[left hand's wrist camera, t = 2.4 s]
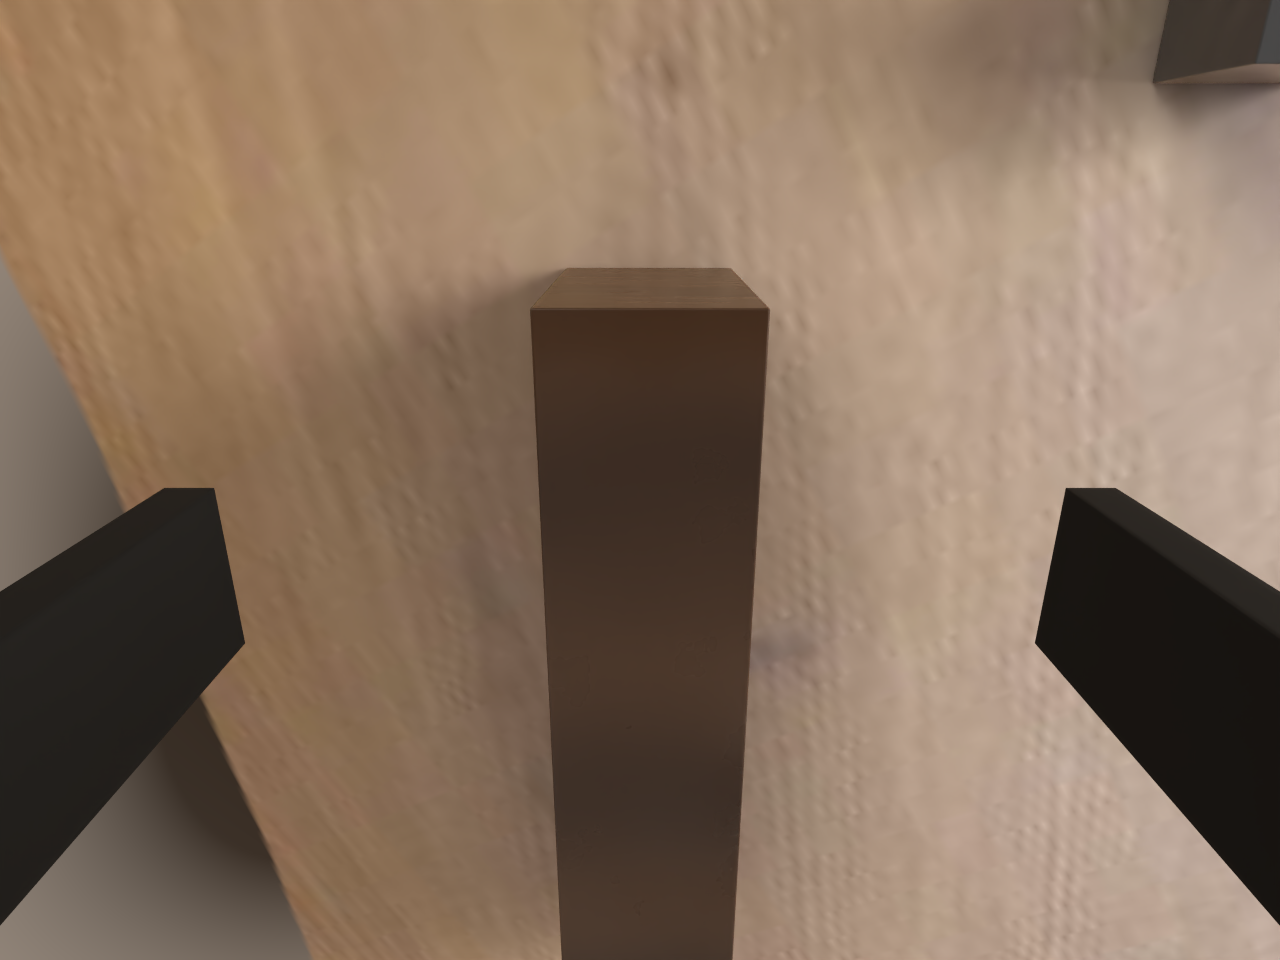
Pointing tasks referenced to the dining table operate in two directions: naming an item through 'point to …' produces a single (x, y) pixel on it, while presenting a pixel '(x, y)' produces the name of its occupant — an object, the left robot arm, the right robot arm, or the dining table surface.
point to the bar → (648, 597)
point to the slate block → (1220, 42)
